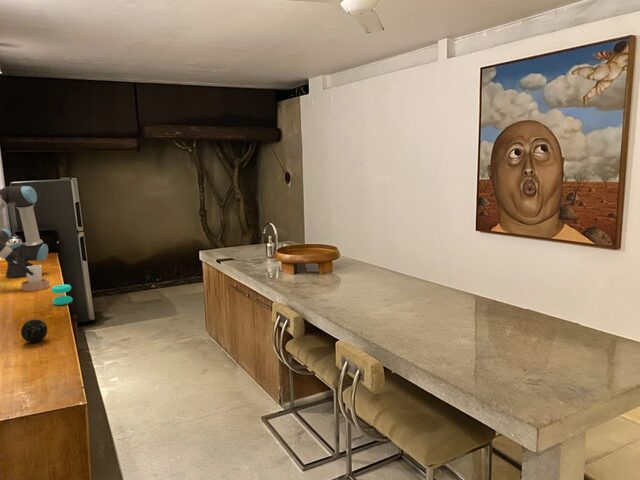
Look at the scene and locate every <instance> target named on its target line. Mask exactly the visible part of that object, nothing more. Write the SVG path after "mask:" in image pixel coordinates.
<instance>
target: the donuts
mask: <svg viewBox="0 0 640 480" xmlns="http://www.w3.org/2000/svg"><path fill="white" fill-rule="evenodd" d="M71 290H72V286H71V285H70V284H57V285H54V286H52V287H51V290H50V291H51V292H52V293H54V294H65V293H68V292H70V291H71ZM73 300H74V299H73V297H72V296H70V295H61V296H56V297H55V298H54V299H52V303H53V305H56V306H65V305H69V304H72V303H73Z"/></svg>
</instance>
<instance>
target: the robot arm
mask: <svg viewBox="0 0 640 480" xmlns="http://www.w3.org/2000/svg"><path fill="white" fill-rule="evenodd" d="M37 195H38V194H37V192H36V190H35V188H33V187H32V186H29V185H22V186H21V185H17V186H5V187H2V188H1V189H0V215H1V214H2V213H3V210H4V209H6V208H7V206H8V205H13V204H14V206H15V208H16V209H18V212H19V216H20V220H21V224H22V230H23V234H24V238H25V242H17V243H12V244H8V245H7V244H6V243H7V242H8V241H9V240H10V239H11V238H12V232H11V231H10V230H9V229H8V228H1V229H0V258H1V259H2V260H3V259H4V261H6V263H7V268H6V270H5V271H6V272H5V278H6V279H7V278H8V279H15V278H16V279H17V278H24V277H27V275H26V273H27V274H29V275H30V276H32V277H33V278H35V279H37V278H38V277H39V275H37V274H36V273H35V272H33V271H32V270H29V269H28V268H27V267H28V266H34V263H31V261H32V262H35V261H36V262H38V261H39V262H40V261H45V260H46V259H47V257H48V254H49V246H48V244H46V243H44V241H43V240H42V239H40V232H39V229H38V224H37V221H36V215H35V211H34V206H36V204H35V203H36V202H37V200H38V199H37V198H38V196H37Z"/></svg>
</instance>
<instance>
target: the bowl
mask: <svg viewBox="0 0 640 480" xmlns="http://www.w3.org/2000/svg"><path fill="white" fill-rule="evenodd" d="M49 288H50V278H49V279H48V278H42V281H41V283H34V284H29V282H28V280H25V281H22V282H21V290H22V292H38V291H42V290H43V291H44V290H46V289H49Z"/></svg>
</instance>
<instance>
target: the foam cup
mask: <svg viewBox="0 0 640 480" xmlns="http://www.w3.org/2000/svg"><path fill="white" fill-rule="evenodd" d="M27 268H28V269H29V270H32V271H33V272H35V273H36V274H37V275H39V277H38V278H37V279H35V278H33V277H32V276H30V275H29V274H27V273H26V275H27V276H26V278H27V281H28V282H29V284H34V283H41V281H42V279H43V277H42V276H43V275H42V274H43V273H42V272H43V266H42V265H41V264H38V265H34V264H33V265H32V266H28V267H27Z"/></svg>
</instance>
